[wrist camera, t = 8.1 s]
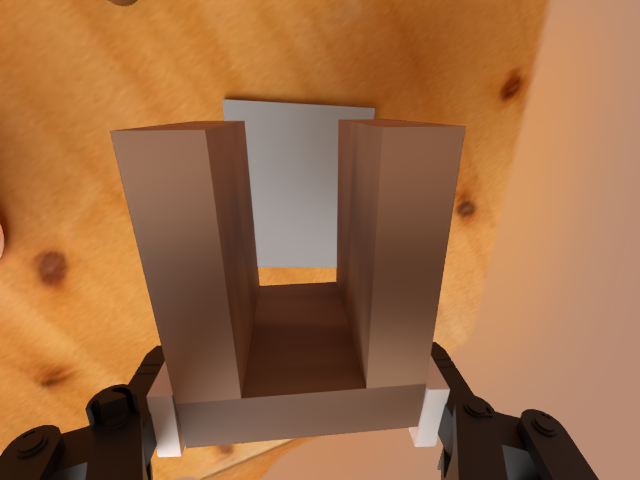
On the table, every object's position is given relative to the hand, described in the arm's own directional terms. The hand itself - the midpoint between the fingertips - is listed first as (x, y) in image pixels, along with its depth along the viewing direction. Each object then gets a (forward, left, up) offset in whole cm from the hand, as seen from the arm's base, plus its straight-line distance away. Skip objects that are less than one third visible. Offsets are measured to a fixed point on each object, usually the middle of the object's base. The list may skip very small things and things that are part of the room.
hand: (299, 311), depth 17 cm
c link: (-4, 0, -1) cm, 4 cm away
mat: (-4, 0, -9) cm, 10 cm away
